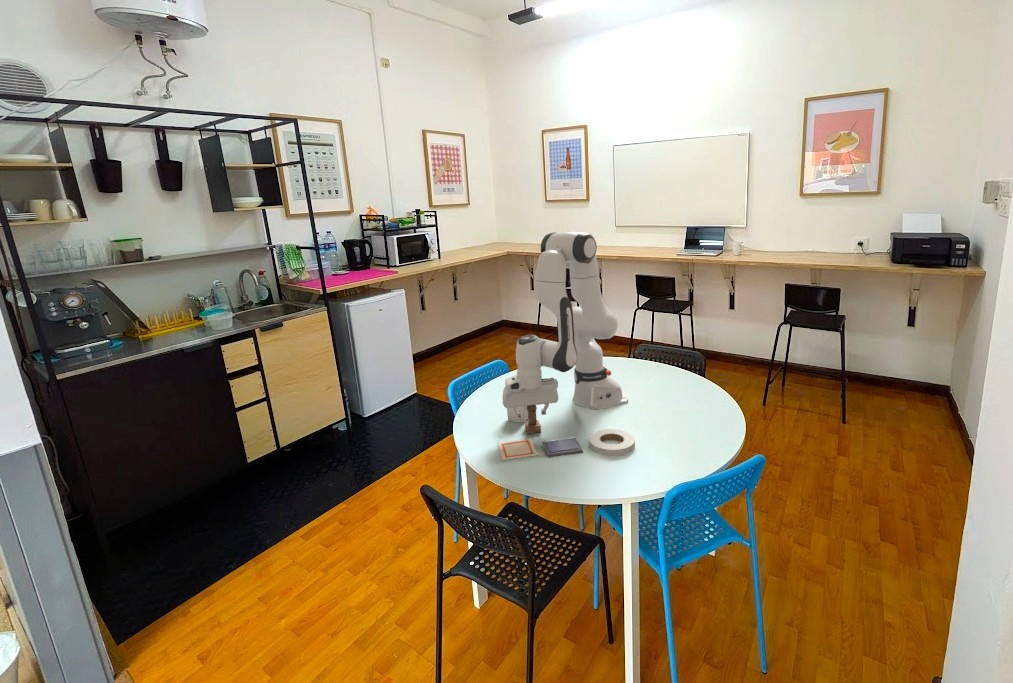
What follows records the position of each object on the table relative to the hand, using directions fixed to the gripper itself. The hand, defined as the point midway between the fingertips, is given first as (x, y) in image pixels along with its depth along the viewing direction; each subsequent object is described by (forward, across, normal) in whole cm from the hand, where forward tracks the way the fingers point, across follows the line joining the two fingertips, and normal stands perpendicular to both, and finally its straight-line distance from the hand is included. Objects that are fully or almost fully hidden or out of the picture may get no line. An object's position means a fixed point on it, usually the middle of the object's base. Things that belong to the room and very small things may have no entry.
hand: (531, 415), depth 188 cm
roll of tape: (+7, -24, +18) cm, 31 cm away
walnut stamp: (+6, 0, 0) cm, 6 cm away
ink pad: (+6, -8, +16) cm, 19 cm away
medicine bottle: (+7, +2, -12) cm, 14 cm away
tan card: (+7, +8, +12) cm, 15 cm away
